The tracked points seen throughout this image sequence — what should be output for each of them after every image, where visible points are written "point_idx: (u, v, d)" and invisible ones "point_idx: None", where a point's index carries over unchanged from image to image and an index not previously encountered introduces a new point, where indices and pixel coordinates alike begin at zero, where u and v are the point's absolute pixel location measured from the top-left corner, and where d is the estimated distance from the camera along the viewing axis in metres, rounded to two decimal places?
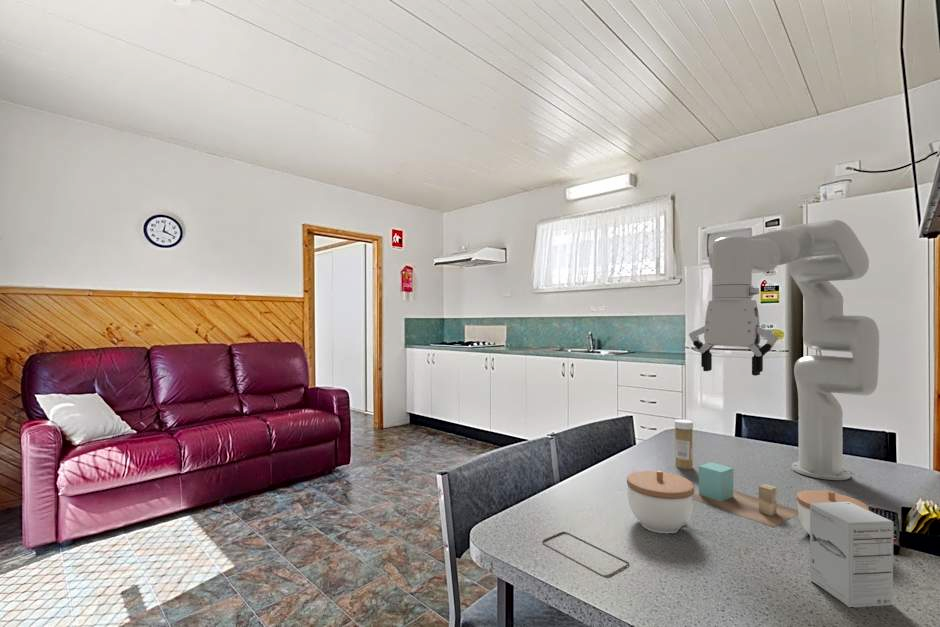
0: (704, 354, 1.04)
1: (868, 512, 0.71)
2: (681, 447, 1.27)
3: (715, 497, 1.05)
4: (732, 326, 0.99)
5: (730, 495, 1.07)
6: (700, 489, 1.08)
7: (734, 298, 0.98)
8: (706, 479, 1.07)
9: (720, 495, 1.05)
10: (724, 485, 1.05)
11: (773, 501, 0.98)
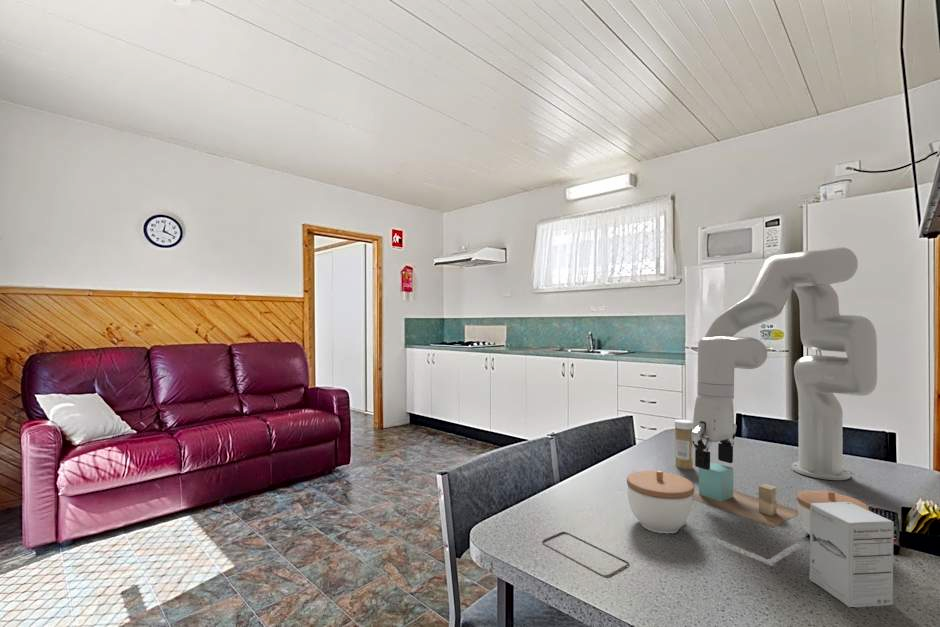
0: (709, 453, 1.04)
1: (868, 512, 0.71)
2: (681, 447, 1.27)
3: (715, 497, 1.05)
4: (727, 422, 1.06)
5: (730, 495, 1.07)
6: (700, 489, 1.08)
7: (733, 397, 1.06)
8: (706, 479, 1.07)
9: (720, 495, 1.05)
10: (724, 485, 1.05)
11: (773, 501, 0.98)
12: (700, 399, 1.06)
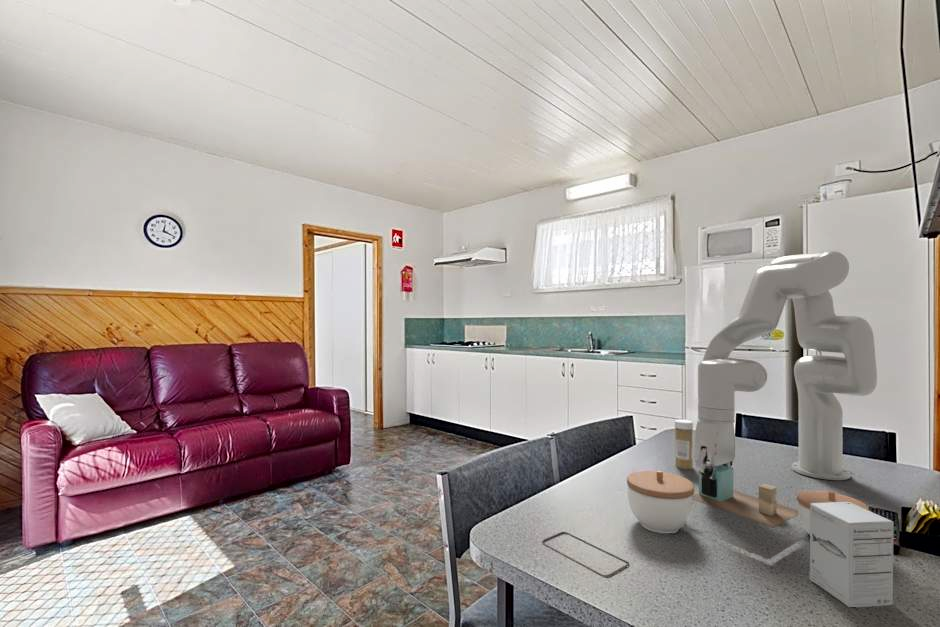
0: (716, 481, 1.05)
1: (868, 512, 0.71)
2: (681, 447, 1.27)
3: (715, 497, 1.05)
4: (728, 446, 1.07)
5: (730, 495, 1.07)
6: (700, 489, 1.08)
7: (734, 420, 1.06)
8: None
9: (720, 495, 1.05)
10: (724, 485, 1.05)
11: (773, 501, 0.98)
12: (701, 424, 1.06)
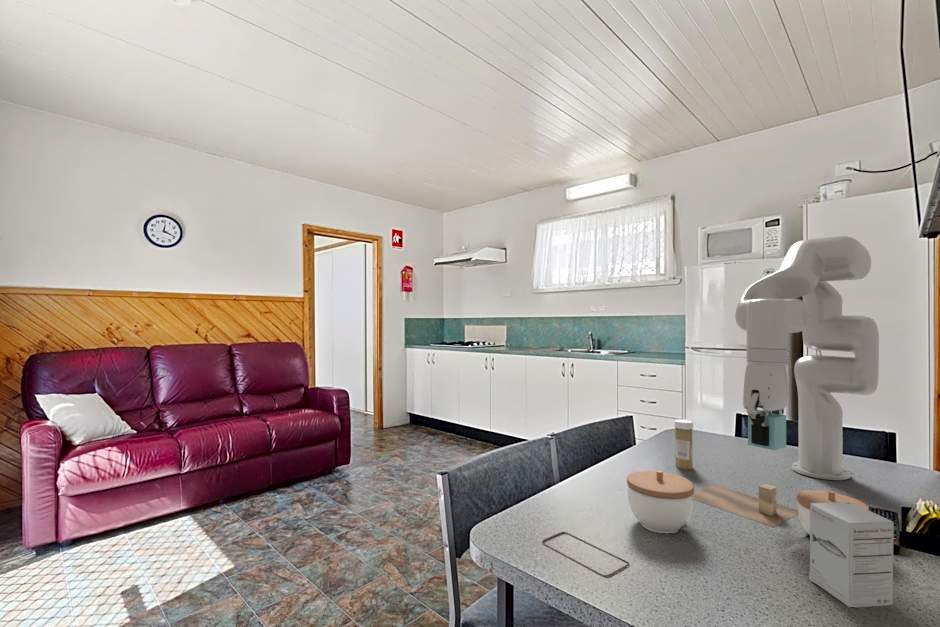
0: (768, 428, 0.96)
1: (868, 512, 0.71)
2: (681, 447, 1.27)
3: (767, 446, 0.96)
4: (782, 391, 0.97)
5: (783, 445, 0.97)
6: (749, 439, 0.99)
7: None
8: None
9: (773, 443, 0.95)
10: (777, 432, 0.96)
11: (773, 501, 0.98)
12: (752, 366, 0.97)
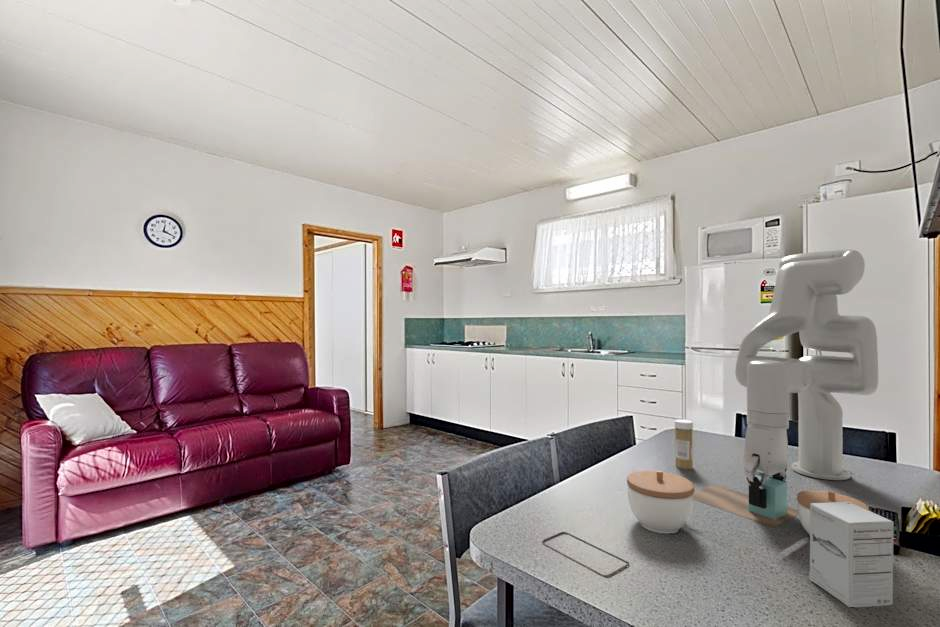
0: (765, 490, 0.95)
1: (868, 512, 0.71)
2: (681, 447, 1.27)
3: (768, 514, 0.96)
4: (782, 454, 0.97)
5: (784, 512, 0.97)
6: (750, 505, 0.99)
7: (788, 426, 0.97)
8: None
9: (774, 512, 0.95)
10: (777, 501, 0.96)
11: None
12: (752, 429, 0.97)
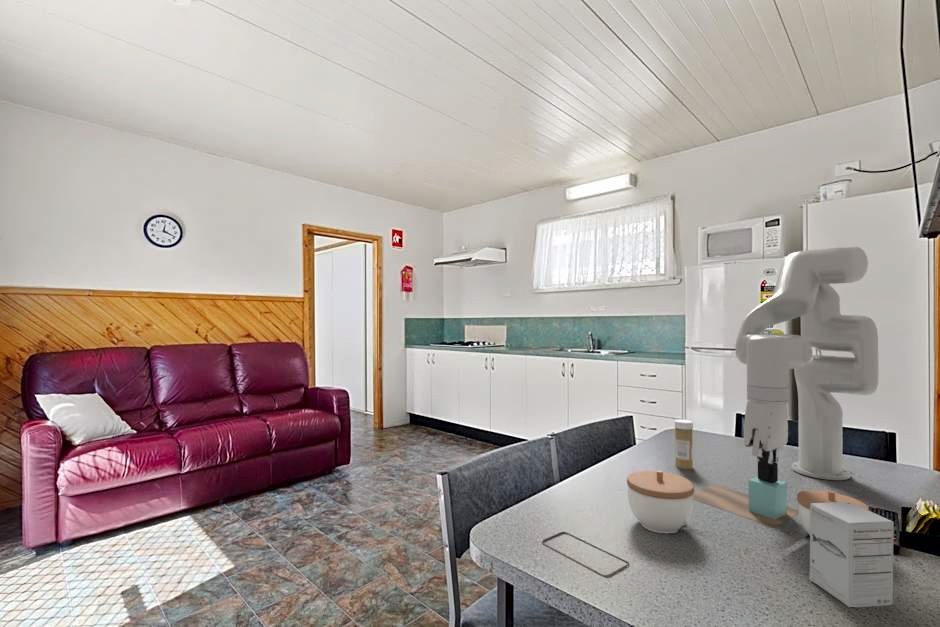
0: (774, 465, 0.97)
1: (868, 512, 0.71)
2: (681, 447, 1.27)
3: (768, 514, 0.96)
4: (782, 429, 0.97)
5: (784, 512, 0.97)
6: (750, 505, 0.99)
7: (788, 400, 0.97)
8: (757, 494, 0.98)
9: (774, 512, 0.95)
10: (777, 501, 0.96)
11: None
12: (752, 404, 0.97)
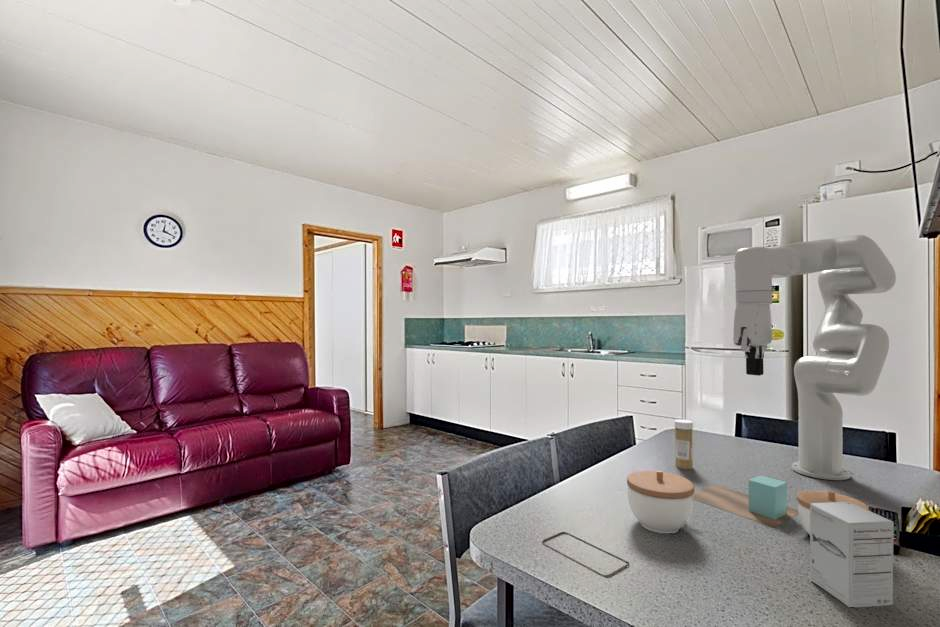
0: (760, 359, 1.11)
1: (868, 512, 0.71)
2: (681, 447, 1.27)
3: (768, 514, 0.96)
4: (767, 328, 1.11)
5: (784, 512, 0.97)
6: (750, 505, 0.99)
7: (771, 302, 1.11)
8: (757, 494, 0.98)
9: (774, 512, 0.95)
10: (777, 501, 0.96)
11: None
12: (740, 307, 1.11)
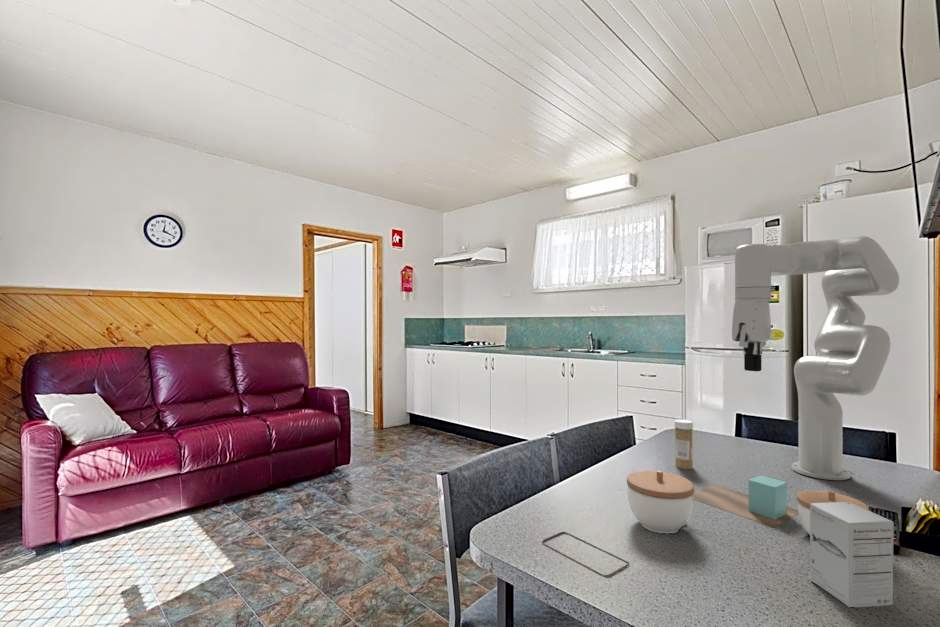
0: (758, 355, 1.12)
1: (868, 512, 0.71)
2: (681, 447, 1.27)
3: (768, 514, 0.96)
4: (765, 324, 1.12)
5: (784, 512, 0.97)
6: (750, 505, 0.99)
7: (770, 299, 1.12)
8: (757, 494, 0.98)
9: (774, 512, 0.95)
10: (777, 501, 0.96)
11: None
12: (739, 303, 1.12)
